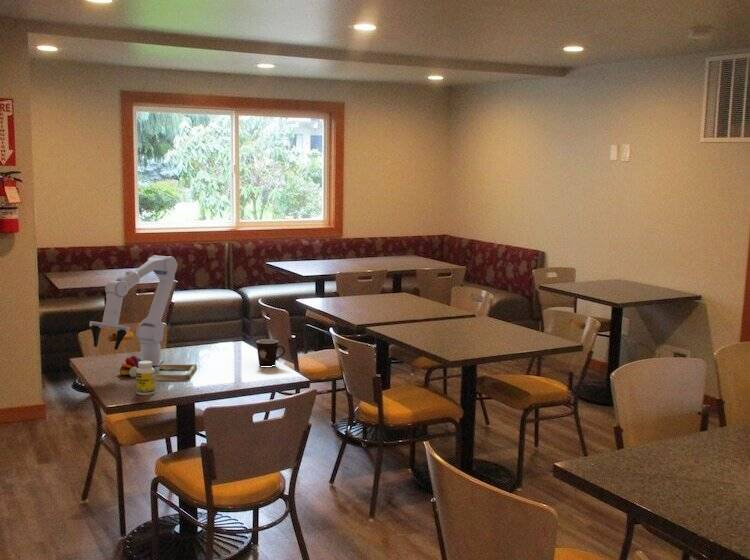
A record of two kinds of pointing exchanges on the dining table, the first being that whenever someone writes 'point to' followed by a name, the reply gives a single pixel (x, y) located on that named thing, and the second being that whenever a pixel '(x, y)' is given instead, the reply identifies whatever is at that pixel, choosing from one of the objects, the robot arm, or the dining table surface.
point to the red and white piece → (130, 366)
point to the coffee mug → (268, 352)
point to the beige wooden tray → (187, 376)
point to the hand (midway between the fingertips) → (105, 348)
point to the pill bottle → (145, 378)
